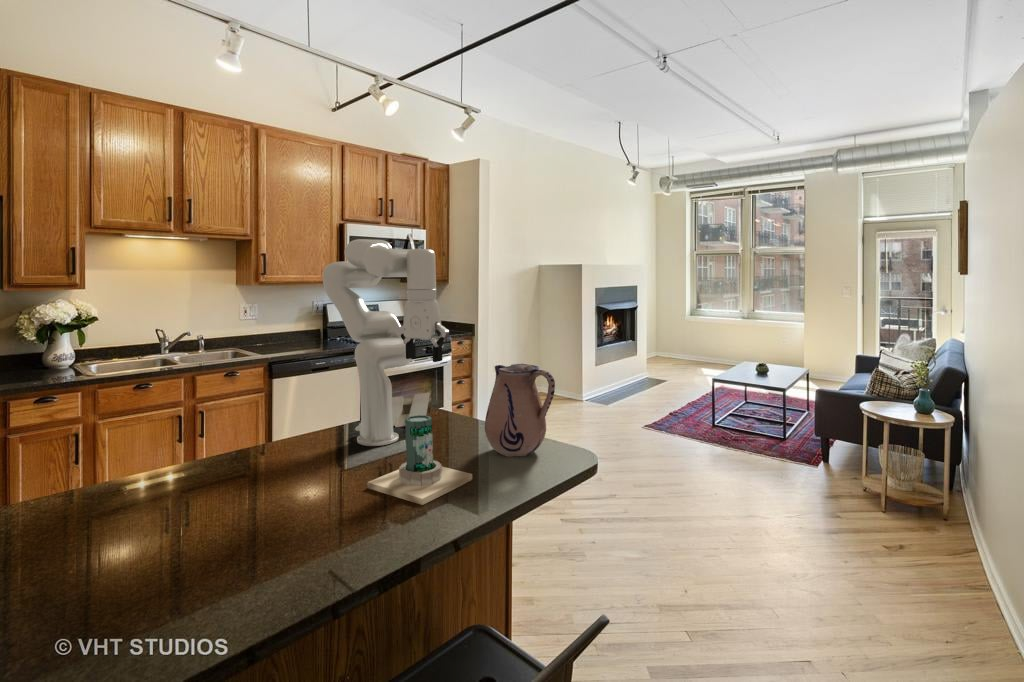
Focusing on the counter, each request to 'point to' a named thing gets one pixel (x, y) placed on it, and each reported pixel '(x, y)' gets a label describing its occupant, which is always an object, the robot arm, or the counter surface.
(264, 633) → the counter surface
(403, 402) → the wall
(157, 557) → the counter surface
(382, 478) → the socket board
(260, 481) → the counter surface
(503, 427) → the ceramic pitcher
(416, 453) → the can
